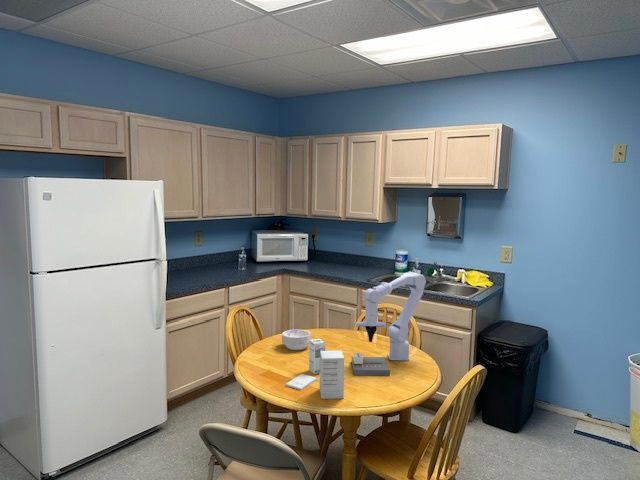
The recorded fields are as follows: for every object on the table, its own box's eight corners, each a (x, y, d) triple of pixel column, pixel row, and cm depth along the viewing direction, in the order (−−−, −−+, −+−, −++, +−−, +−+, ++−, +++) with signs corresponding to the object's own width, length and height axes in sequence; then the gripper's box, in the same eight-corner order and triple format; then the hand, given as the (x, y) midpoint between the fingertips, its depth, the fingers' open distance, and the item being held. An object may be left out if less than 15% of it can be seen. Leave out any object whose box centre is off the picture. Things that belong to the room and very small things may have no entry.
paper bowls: (294, 340, 245) (294, 326, 245) (316, 346, 237) (316, 332, 236) (275, 348, 233) (275, 333, 232) (298, 354, 224) (298, 339, 223)
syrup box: (314, 374, 200) (314, 343, 199) (308, 369, 205) (308, 339, 204) (325, 372, 203) (325, 341, 201) (319, 367, 208) (319, 337, 206)
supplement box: (344, 399, 177) (344, 358, 175) (320, 399, 176) (321, 358, 174) (340, 388, 186) (341, 349, 185) (319, 388, 186) (319, 350, 184)
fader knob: (361, 360, 210) (362, 353, 210) (362, 364, 205) (363, 357, 205) (353, 360, 210) (353, 353, 210) (354, 364, 205) (354, 356, 205)
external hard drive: (316, 381, 194) (300, 391, 184) (301, 377, 199) (284, 387, 188) (316, 377, 194) (300, 388, 184) (301, 373, 199) (284, 383, 188)
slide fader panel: (384, 362, 216) (384, 356, 216) (389, 375, 200) (389, 370, 200) (351, 361, 216) (351, 356, 216) (354, 375, 200) (354, 369, 200)
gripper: (385, 312, 218) (384, 338, 219) (355, 311, 218) (354, 338, 219) (387, 315, 211) (386, 343, 212) (356, 315, 210) (356, 343, 212)
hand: (370, 341), depth 215 cm, fingers closed
